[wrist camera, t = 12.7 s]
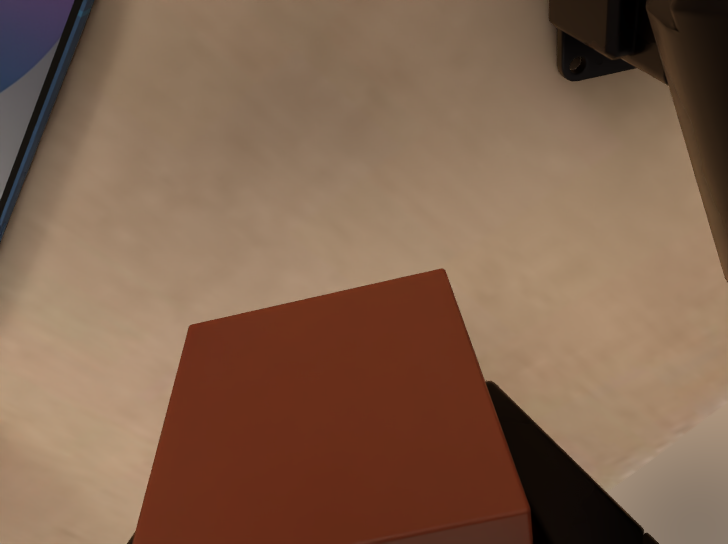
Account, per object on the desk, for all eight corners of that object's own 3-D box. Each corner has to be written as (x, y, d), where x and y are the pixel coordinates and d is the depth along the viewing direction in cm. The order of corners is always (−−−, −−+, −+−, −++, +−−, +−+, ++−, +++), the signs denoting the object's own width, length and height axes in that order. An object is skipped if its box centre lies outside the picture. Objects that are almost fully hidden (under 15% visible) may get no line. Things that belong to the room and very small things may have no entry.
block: (444, 266, 9) (532, 510, 6) (471, 434, 12) (544, 677, 8) (187, 323, 10) (117, 594, 6) (268, 477, 12) (252, 731, 8)
